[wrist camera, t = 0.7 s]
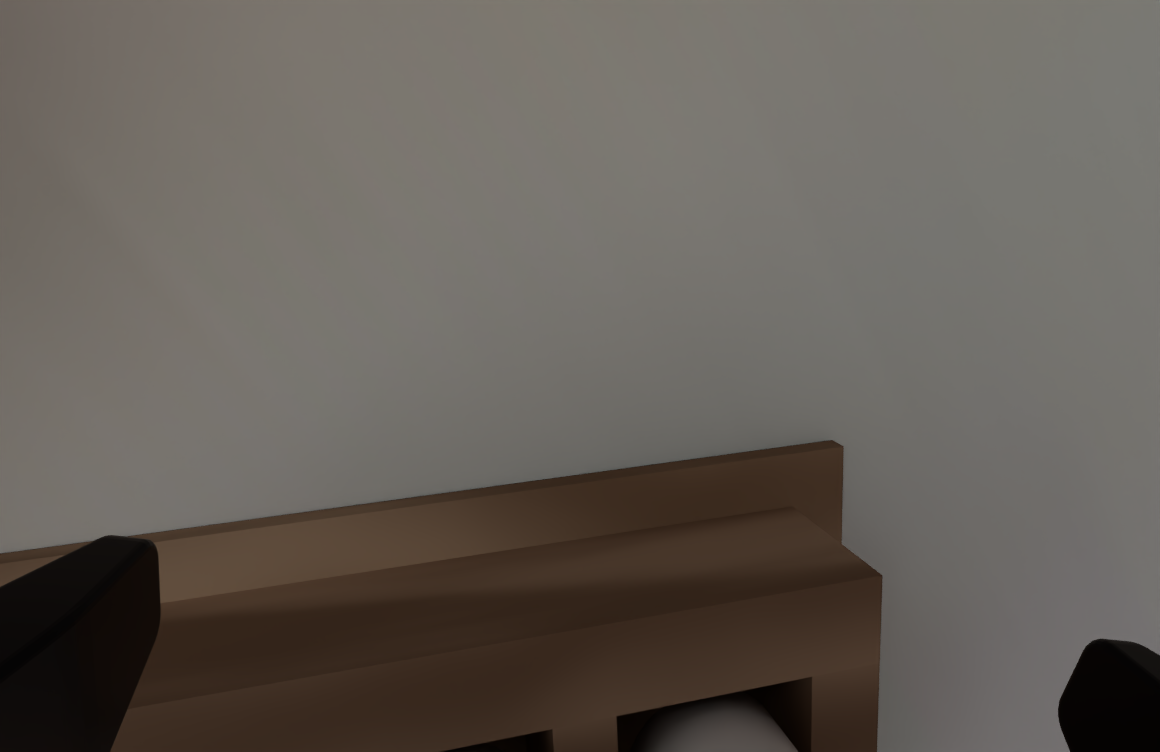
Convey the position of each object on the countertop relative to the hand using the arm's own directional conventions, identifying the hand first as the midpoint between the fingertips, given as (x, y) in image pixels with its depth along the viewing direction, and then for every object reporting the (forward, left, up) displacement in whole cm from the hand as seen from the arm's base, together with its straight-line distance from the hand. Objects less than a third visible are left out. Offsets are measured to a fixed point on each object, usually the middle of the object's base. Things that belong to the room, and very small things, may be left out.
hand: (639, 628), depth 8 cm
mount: (-10, +2, -14) cm, 17 cm away
